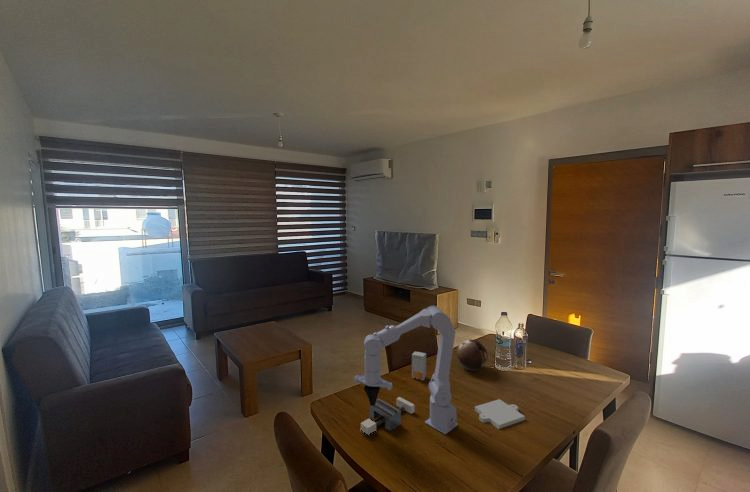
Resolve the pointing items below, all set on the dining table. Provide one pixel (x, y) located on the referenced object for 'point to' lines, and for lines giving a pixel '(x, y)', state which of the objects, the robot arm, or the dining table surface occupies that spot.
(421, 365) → the skincare box
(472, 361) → the wooden sphere
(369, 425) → the white ended gray rod
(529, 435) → the dining table surface
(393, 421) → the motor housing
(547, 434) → the dining table surface
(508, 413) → the mounting plate
